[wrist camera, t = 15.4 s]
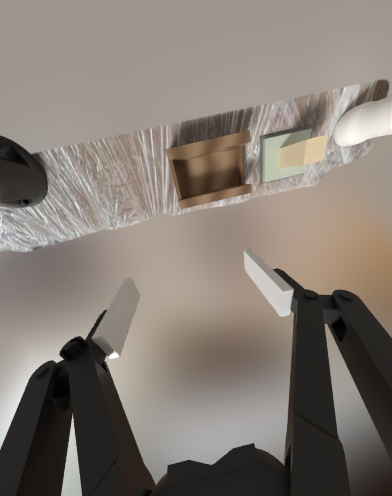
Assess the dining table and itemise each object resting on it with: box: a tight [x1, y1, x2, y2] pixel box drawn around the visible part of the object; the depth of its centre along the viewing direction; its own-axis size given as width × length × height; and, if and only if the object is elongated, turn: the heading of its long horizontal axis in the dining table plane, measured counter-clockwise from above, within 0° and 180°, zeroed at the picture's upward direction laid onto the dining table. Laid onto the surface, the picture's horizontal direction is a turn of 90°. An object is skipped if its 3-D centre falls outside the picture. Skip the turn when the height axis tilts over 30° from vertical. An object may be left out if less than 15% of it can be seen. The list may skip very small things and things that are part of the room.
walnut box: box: [166, 130, 252, 209], centre depth 34 cm, size 18×12×7 cm
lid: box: [263, 128, 328, 182], centre depth 33 cm, size 12×10×10 cm
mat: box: [260, 126, 310, 184], centre depth 38 cm, size 13×11×1 cm
